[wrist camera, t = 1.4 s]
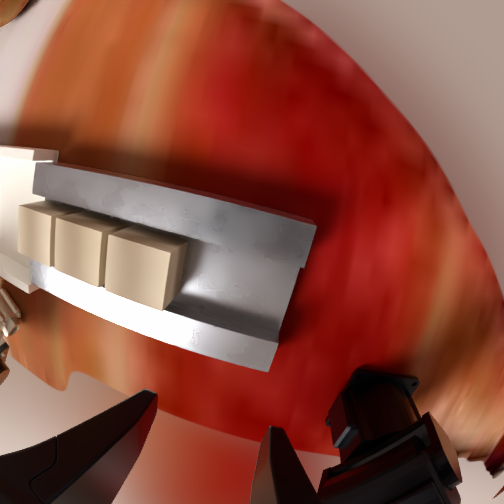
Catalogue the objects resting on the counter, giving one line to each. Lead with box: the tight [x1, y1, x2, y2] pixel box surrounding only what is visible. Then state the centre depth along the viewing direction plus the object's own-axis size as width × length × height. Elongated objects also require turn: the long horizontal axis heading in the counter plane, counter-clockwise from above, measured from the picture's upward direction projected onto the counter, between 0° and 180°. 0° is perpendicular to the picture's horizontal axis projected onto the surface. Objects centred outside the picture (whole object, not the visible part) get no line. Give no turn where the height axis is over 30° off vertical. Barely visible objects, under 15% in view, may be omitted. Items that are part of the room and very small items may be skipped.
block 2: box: [55, 211, 127, 288], centre depth 17 cm, size 4×4×3 cm
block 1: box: [18, 200, 78, 267], centre depth 17 cm, size 4×4×3 cm
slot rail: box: [30, 162, 317, 372], centre depth 18 cm, size 20×10×3 cm, turn 76°
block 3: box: [105, 225, 188, 312], centre depth 17 cm, size 4×4×3 cm
